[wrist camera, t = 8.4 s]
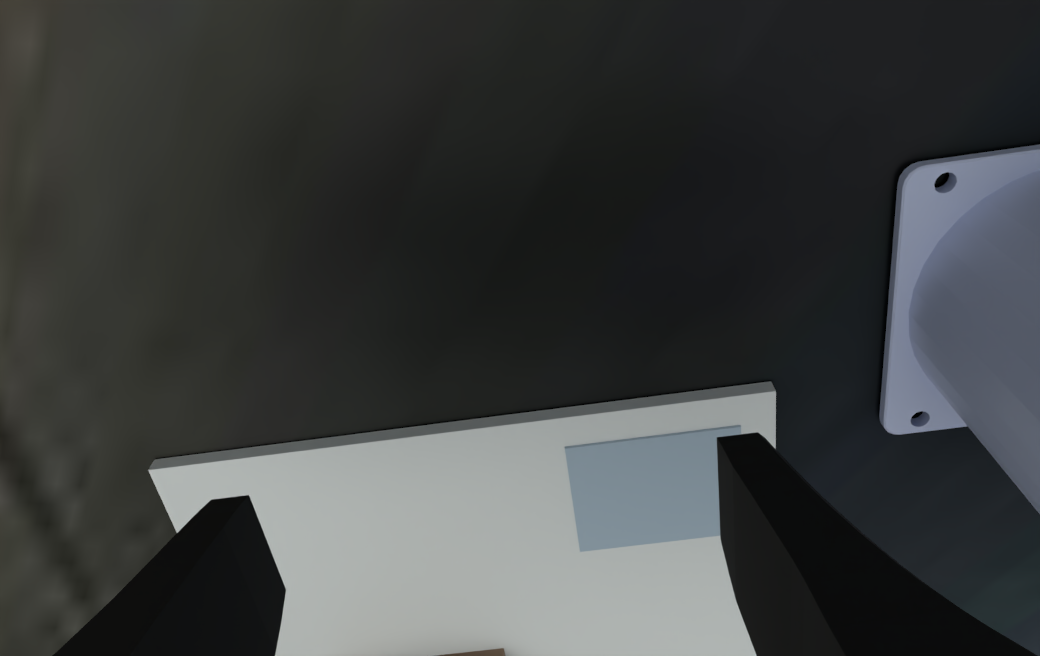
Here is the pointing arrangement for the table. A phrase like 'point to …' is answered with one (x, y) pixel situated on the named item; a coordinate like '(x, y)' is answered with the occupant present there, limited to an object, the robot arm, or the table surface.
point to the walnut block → (480, 653)
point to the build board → (499, 530)
